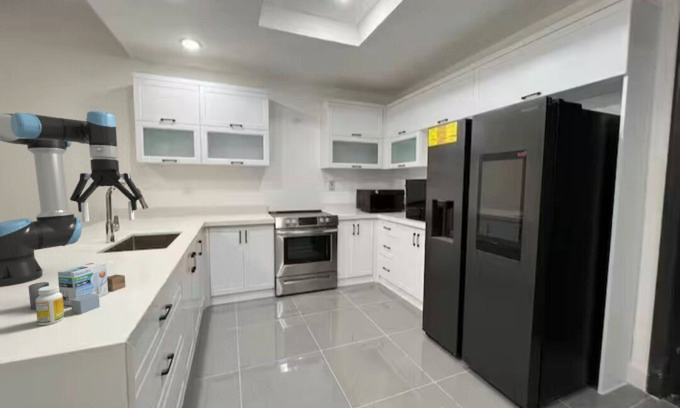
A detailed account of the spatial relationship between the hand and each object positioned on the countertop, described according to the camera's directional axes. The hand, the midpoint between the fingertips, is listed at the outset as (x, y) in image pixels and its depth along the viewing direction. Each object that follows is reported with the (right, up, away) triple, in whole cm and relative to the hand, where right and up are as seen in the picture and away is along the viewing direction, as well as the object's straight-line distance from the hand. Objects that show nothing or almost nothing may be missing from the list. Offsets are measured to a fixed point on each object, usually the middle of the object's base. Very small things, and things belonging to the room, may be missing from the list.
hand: (109, 220), depth 103 cm
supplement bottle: (0, -27, -21) cm, 34 cm away
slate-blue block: (+4, -26, -14) cm, 30 cm away
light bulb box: (-3, -26, -6) cm, 26 cm away
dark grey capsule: (-13, -26, -11) cm, 31 cm away
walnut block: (-1, -25, +3) cm, 25 cm away
